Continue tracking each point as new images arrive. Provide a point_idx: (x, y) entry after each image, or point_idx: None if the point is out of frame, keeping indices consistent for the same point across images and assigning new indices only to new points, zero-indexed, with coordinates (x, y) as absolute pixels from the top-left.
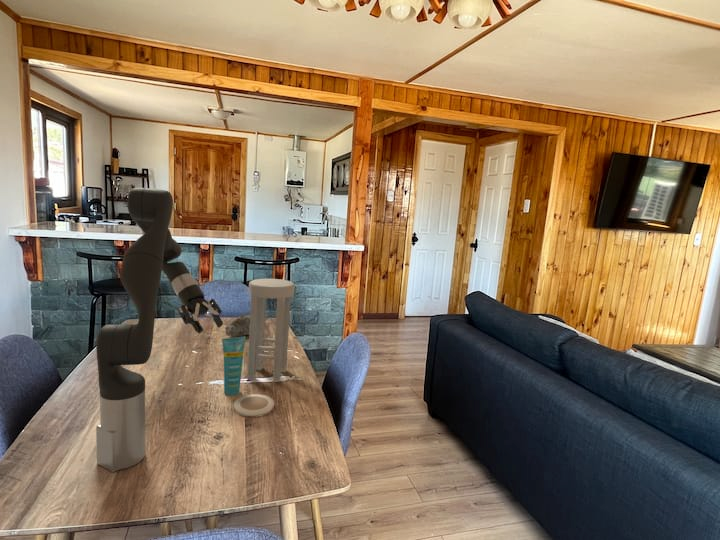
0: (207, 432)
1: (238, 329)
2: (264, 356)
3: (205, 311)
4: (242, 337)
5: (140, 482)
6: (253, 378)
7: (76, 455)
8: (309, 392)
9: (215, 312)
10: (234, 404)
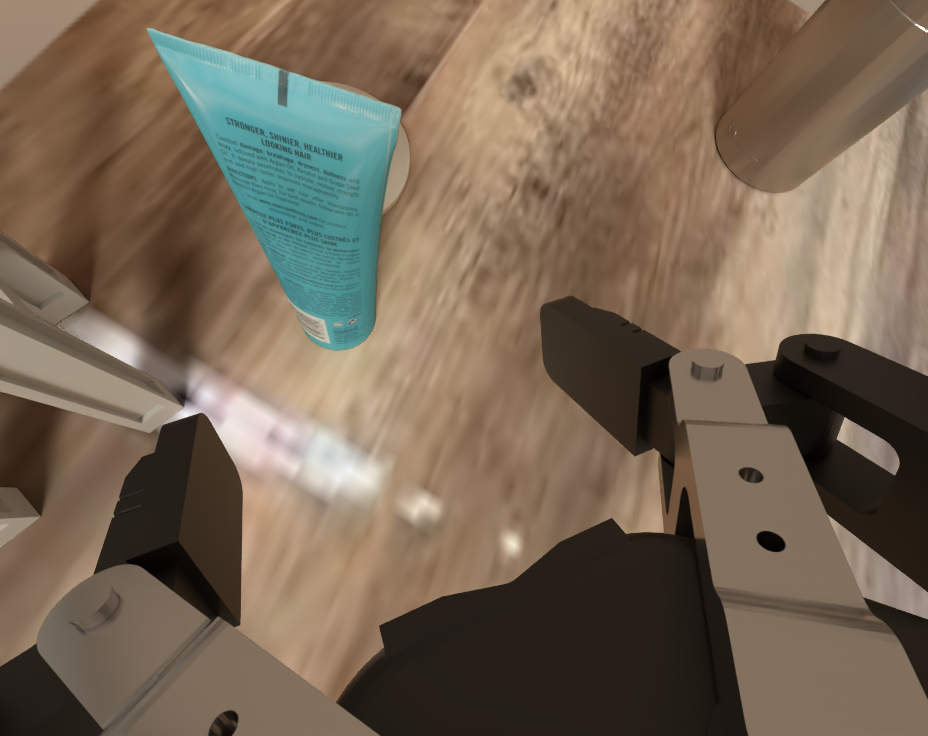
0: (543, 122)
1: None
2: (2, 289)
3: (445, 608)
4: (189, 46)
5: (732, 51)
6: (156, 379)
7: (859, 230)
8: (24, 114)
9: (130, 628)
10: (400, 185)
